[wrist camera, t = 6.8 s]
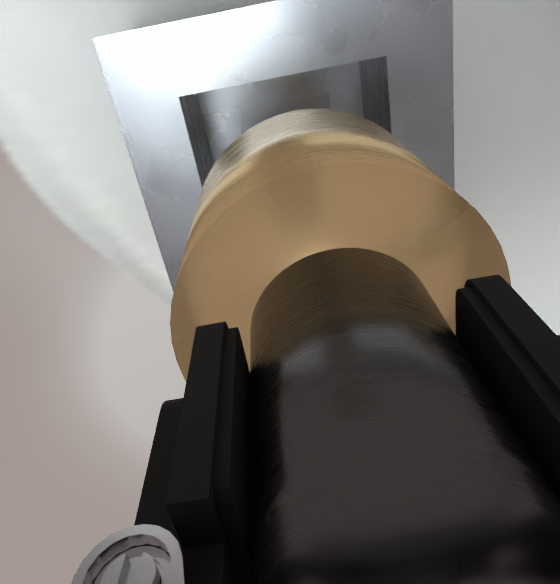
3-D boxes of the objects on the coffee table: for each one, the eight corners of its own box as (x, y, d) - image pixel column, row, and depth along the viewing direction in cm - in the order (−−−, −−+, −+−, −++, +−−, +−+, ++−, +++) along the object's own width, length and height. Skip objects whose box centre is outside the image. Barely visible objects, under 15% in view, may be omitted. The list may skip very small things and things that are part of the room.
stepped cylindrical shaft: (423, 85, 14) (872, 283, 4) (431, 307, 18) (680, 715, 8) (167, 135, 15) (-32, 439, 4) (225, 343, 18) (193, 783, 8)
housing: (400, -24, 24) (451, -36, 18) (413, 229, 30) (455, 285, 24) (131, 30, 25) (92, 37, 18) (199, 269, 31) (186, 333, 25)
